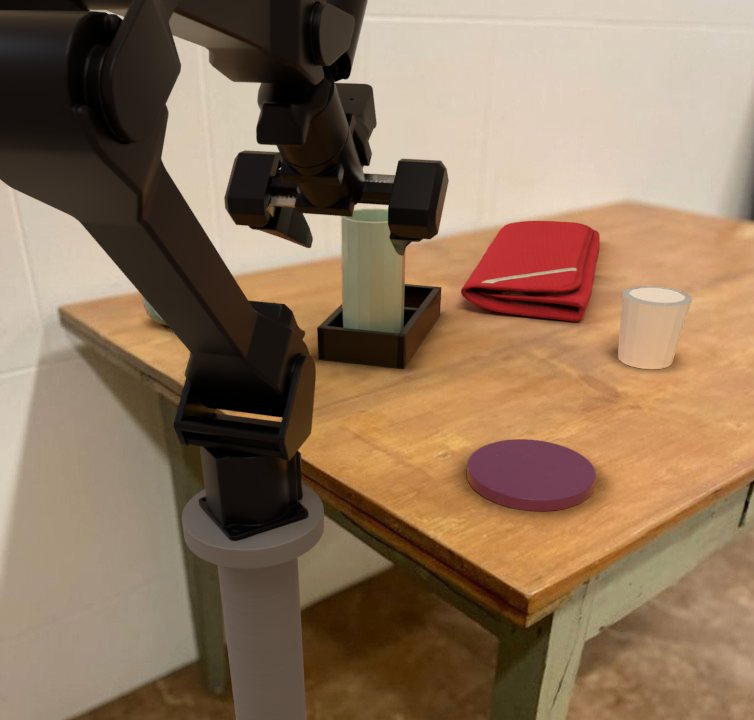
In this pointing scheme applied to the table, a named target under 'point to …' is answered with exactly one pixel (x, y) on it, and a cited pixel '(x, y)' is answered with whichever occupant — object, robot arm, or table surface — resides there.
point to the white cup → (651, 325)
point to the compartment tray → (382, 333)
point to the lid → (531, 475)
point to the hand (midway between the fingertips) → (355, 247)
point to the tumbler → (371, 273)
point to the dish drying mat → (537, 270)
